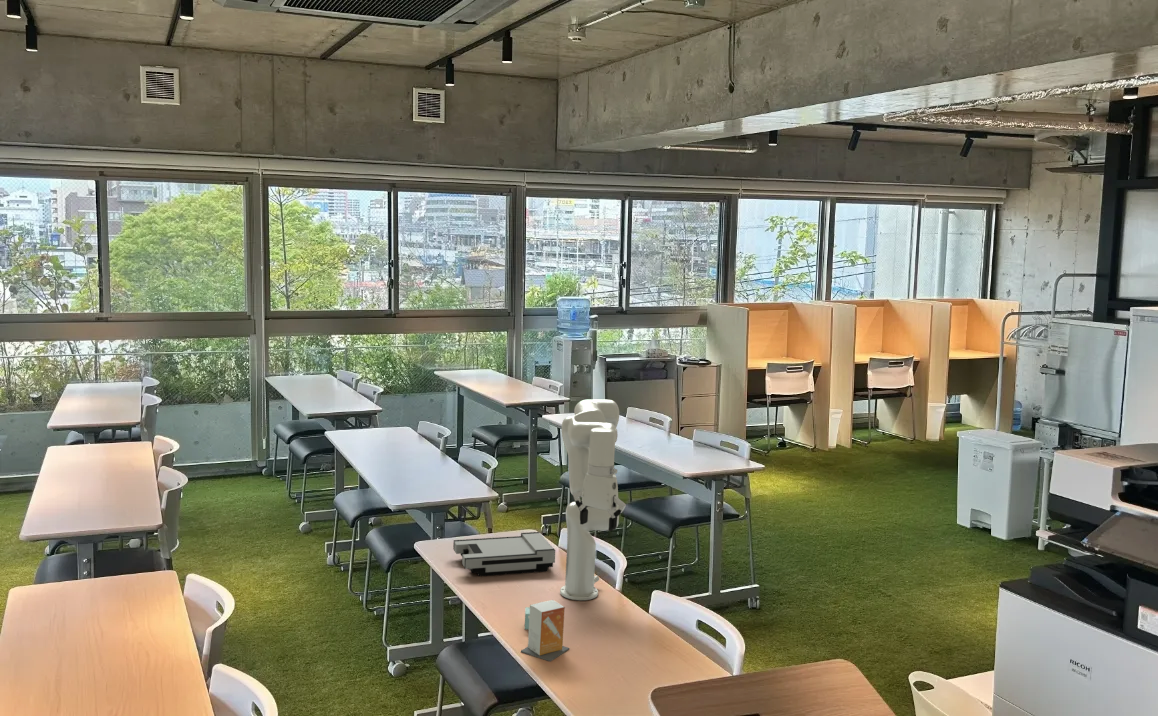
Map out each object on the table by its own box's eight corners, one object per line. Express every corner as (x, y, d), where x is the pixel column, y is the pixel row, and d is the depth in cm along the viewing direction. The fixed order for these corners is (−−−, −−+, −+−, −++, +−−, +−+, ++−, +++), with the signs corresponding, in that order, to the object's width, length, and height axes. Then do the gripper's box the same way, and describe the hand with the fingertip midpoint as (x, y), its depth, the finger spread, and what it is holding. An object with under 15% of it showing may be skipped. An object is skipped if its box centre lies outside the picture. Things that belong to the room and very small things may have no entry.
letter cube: (524, 622, 293) (525, 607, 293) (541, 623, 293) (541, 607, 293) (524, 629, 288) (525, 613, 287) (541, 630, 288) (541, 614, 288)
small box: (539, 656, 269) (541, 612, 268) (527, 647, 275) (529, 604, 273) (563, 650, 274) (565, 606, 273) (550, 641, 279) (552, 599, 278)
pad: (540, 640, 281) (540, 638, 281) (569, 649, 276) (569, 647, 276) (520, 652, 273) (520, 650, 272) (550, 661, 267) (550, 660, 267)
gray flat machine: (453, 558, 347) (453, 536, 346) (537, 553, 357) (538, 531, 356) (465, 579, 328) (465, 556, 327) (554, 572, 338) (555, 550, 337)
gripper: (632, 472, 279) (629, 529, 281) (582, 462, 288) (579, 518, 290) (620, 477, 273) (617, 535, 275) (568, 467, 282) (566, 523, 284)
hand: (597, 526), depth 283 cm, fingers open, 9 cm apart
